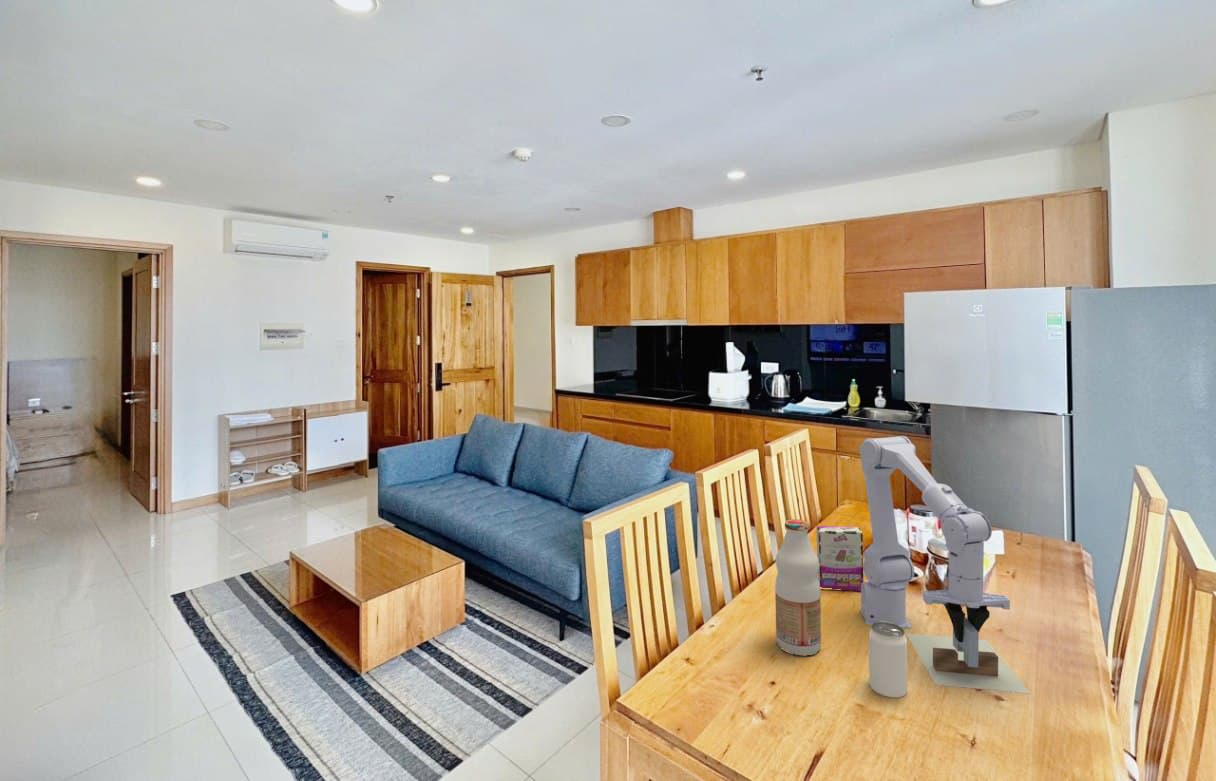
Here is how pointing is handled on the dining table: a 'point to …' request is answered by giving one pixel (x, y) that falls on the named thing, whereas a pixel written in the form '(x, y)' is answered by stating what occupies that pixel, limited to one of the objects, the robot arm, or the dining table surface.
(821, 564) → the candy bar box
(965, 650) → the grey flat block
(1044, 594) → the dining table surface
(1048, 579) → the dining table surface
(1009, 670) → the felt mat
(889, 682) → the can
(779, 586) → the fruit juice
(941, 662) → the walnut slotted plate
